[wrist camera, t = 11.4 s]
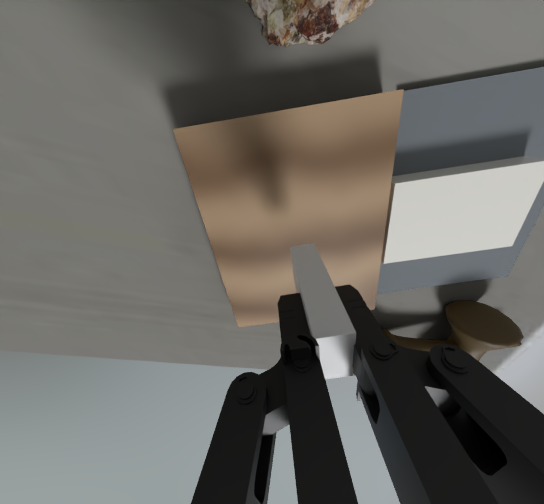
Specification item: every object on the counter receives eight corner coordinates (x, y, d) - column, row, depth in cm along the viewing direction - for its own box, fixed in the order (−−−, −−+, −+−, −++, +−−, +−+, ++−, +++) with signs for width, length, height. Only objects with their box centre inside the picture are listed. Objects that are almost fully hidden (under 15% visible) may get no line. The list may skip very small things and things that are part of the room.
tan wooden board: (185, 129, 15) (172, 129, 13) (382, 94, 15) (403, 88, 13) (240, 309, 24) (238, 327, 22) (364, 292, 24) (374, 309, 22)
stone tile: (381, 177, 17) (395, 183, 15) (524, 156, 17) (554, 159, 15) (373, 252, 21) (383, 263, 19) (490, 236, 20) (512, 246, 18)
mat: (397, 92, 15) (400, 91, 14) (613, 54, 14) (621, 53, 14) (373, 291, 24) (375, 293, 23) (504, 273, 23) (507, 276, 23)
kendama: (344, 303, 25) (517, 294, 25) (336, 352, 30) (480, 345, 30) (363, 349, 20) (581, 339, 20) (350, 399, 25) (523, 391, 25)
